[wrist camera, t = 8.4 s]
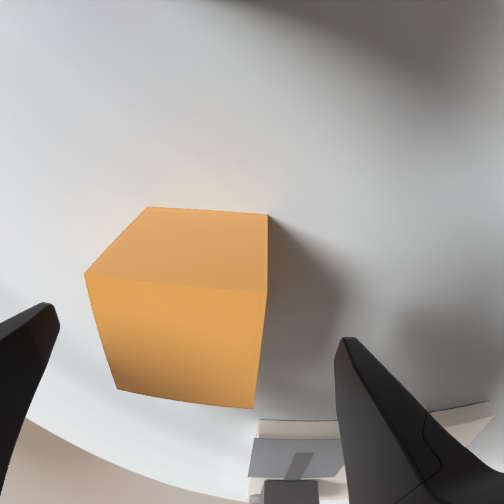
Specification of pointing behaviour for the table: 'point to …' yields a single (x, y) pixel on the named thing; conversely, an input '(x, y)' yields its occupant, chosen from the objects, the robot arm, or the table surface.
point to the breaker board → (332, 449)
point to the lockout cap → (184, 304)
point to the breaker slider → (290, 492)
